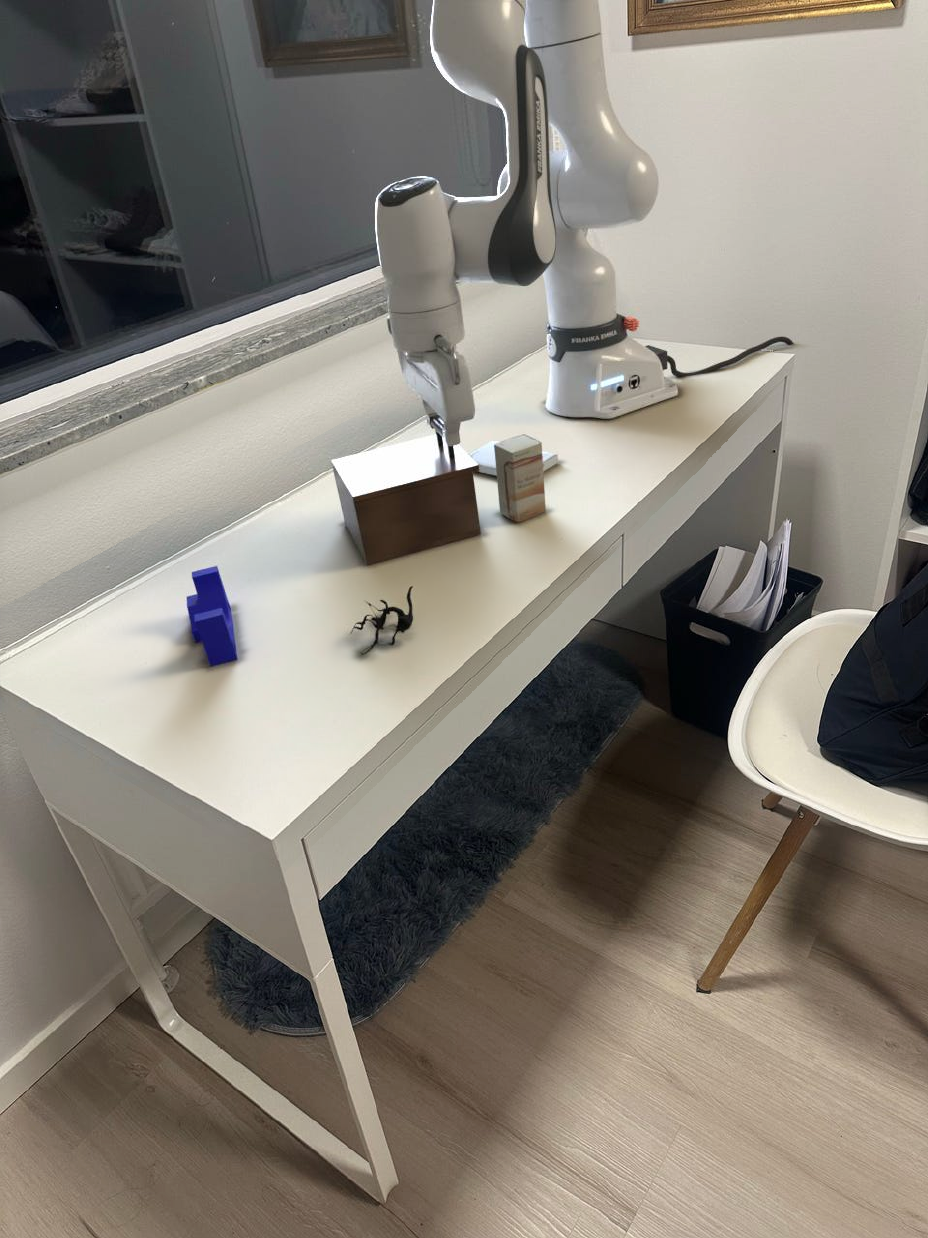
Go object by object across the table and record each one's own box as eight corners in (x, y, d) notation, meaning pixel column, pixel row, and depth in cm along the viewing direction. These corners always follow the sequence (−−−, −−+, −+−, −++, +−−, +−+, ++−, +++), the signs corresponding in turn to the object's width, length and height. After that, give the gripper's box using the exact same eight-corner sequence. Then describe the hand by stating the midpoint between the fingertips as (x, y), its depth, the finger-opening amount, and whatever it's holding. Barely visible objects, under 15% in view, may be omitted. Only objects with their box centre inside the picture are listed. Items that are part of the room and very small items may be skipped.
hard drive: (459, 459, 135) (523, 473, 127) (493, 439, 140) (557, 452, 132) (460, 469, 136) (524, 483, 128) (494, 449, 140) (558, 462, 133)
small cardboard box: (517, 524, 118) (510, 453, 112) (499, 513, 121) (490, 444, 116) (549, 511, 120) (543, 440, 114) (530, 501, 123) (523, 432, 118)
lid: (447, 437, 123) (442, 403, 121) (479, 470, 112) (475, 434, 109) (332, 465, 120) (324, 431, 117) (353, 503, 109) (345, 466, 106)
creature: (347, 665, 97) (413, 652, 94) (326, 626, 94) (394, 611, 92) (366, 625, 103) (428, 611, 101) (347, 587, 101) (410, 572, 98)
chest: (449, 496, 128) (441, 438, 123) (481, 534, 117) (473, 472, 112) (345, 523, 125) (332, 466, 120) (367, 565, 113) (353, 503, 109)
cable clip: (193, 617, 108) (179, 575, 105) (230, 607, 109) (217, 565, 106) (197, 670, 98) (180, 625, 95) (237, 659, 99) (222, 614, 96)
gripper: (480, 340, 100) (493, 455, 108) (428, 306, 117) (443, 407, 124) (427, 353, 99) (444, 467, 106) (382, 316, 116) (400, 417, 123)
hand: (443, 434), depth 116 cm, fingers closed on lid, 6 cm apart
